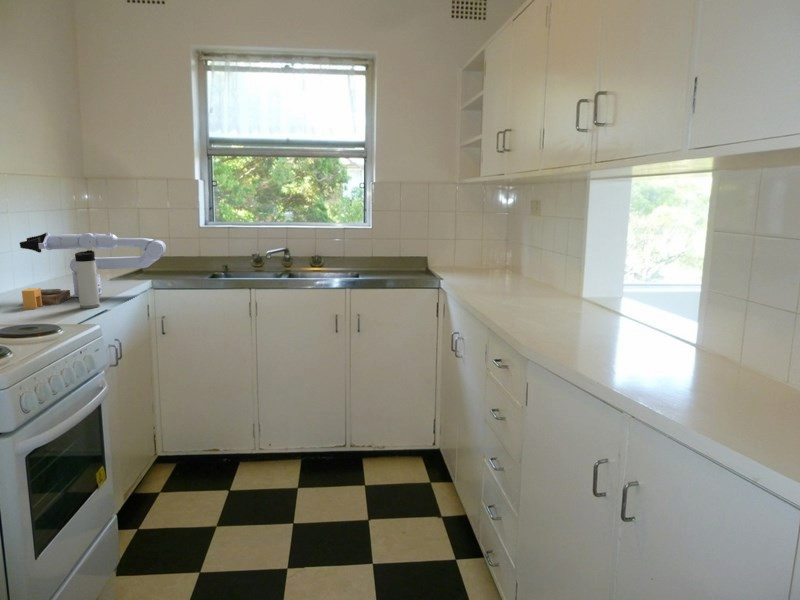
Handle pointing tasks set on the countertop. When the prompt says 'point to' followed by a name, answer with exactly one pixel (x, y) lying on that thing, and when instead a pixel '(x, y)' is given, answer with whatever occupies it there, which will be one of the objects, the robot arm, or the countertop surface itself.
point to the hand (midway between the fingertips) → (23, 243)
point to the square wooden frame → (54, 296)
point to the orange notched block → (32, 298)
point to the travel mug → (87, 279)
